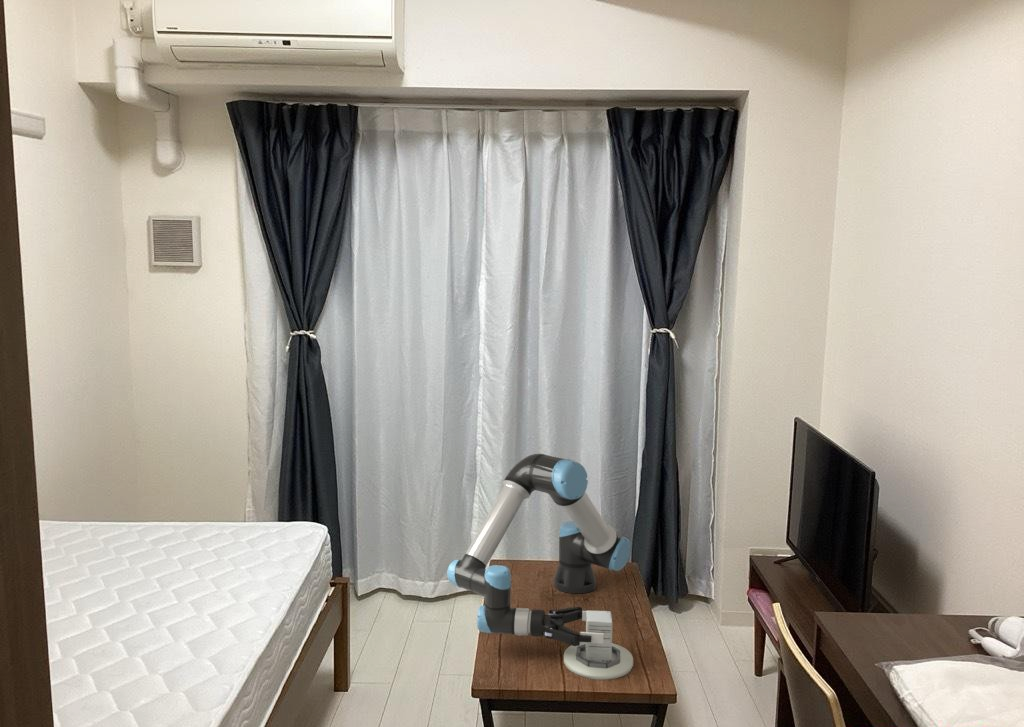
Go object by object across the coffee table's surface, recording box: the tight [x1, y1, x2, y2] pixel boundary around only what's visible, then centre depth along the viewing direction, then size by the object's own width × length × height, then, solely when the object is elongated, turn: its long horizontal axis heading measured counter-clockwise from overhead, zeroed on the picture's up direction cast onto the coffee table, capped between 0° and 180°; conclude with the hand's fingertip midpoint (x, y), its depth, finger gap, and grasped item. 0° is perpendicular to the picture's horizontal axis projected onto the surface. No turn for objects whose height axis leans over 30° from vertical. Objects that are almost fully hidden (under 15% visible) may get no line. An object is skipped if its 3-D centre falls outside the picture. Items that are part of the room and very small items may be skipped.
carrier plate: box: [563, 642, 634, 681], centre depth 231 cm, size 20×20×2 cm
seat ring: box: [576, 644, 620, 668], centre depth 231 cm, size 13×13×1 cm
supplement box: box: [585, 610, 613, 663], centre depth 230 cm, size 7×7×13 cm
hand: (604, 627), depth 230 cm, fingers open, 13 cm apart
